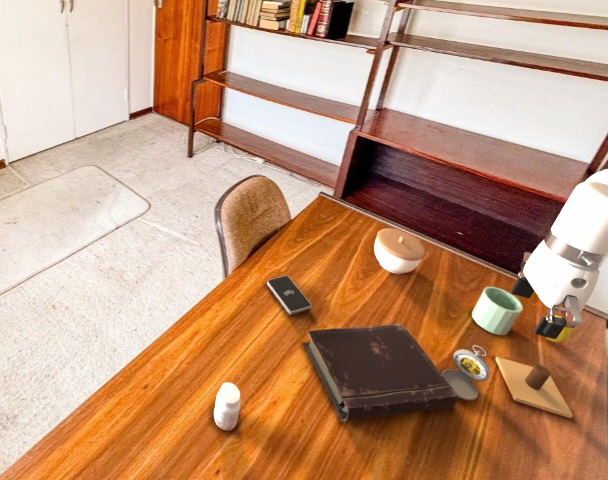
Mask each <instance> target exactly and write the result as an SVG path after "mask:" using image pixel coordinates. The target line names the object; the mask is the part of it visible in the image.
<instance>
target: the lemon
mask: <svg viewBox="0 0 608 480" xmlns="http://www.w3.org/2000/svg"><path fill="white" fill-rule="evenodd" d="M544 317H547V315H546V316H544ZM555 317H560V318H561V315H558V314H555ZM572 334H573V328H570V327H568V328H567V327H564V329H563V330H562V331H561V333H560V334H559V336H558V337H557V338H556V339H551V338H548V337H544V338H545V340H546V341H549V342H552V343H555V344H562V343H563V344H564V343H565V342H567V341H568V340H569V339H570V338H571V337H572Z"/></svg>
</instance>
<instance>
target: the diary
mask: <svg viewBox="0 0 608 480" xmlns="http://www.w3.org/2000/svg"><path fill="white" fill-rule="evenodd" d="M306 333H307V335H308V337H309V339H310V342H303V343H302V344H303V346H304V348H305V350H306V352H307V354H308V357H309V358H310V360H311V362H312V364H313V366H314V368H315V370H316V372H317V374H318V376H319V378H320V380H321V382H322V384H323V386H324V388H325V390H326V392H327V394H328V396H329V398H330V399H331V402H332V404H333V406H334V408H335V410H336V411H337V415H338V416H339V417H340V420H341V421H342V422H350V421H358V420H363V419H370V418H378V417H386V416H387V417H388V416H389V417H390V416H398V415H406V414H411V413H417V412H424V411H425V412H426V411H434V410H445V409H452V408H454V407H455V406H456V404H457V403H458V400H459V397H458V394H457V393H456V392H455V391H454V389H453V388H452V387H451V386H450V385H449V383H448V382H447V380H446V379H445V378H444V377H443V375H442V372H441V371H440V369H438V368H437V366H436V364H435V363H434V362H433V360H432V359H431V357H430V356H429V355H428V354H427V353H426V351H425V350H424V349H423V348H422V346H421V345H420V344H419V342H418V341H417V340H416V339H415V337H413V335H412V334H411V333H410V331H409V330H408V329H407V328H406V327H405V326H404V324H403V323H390V324H389V323H388V324H379V325H368V326H357V327H339V328H337V327H336V328H335V327H334V328H325V329H315V330H306Z"/></svg>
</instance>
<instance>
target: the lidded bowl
mask: <svg viewBox="0 0 608 480" xmlns="http://www.w3.org/2000/svg"><path fill="white" fill-rule="evenodd" d="M373 250H374V255H375V258H376V260H377V261H378V263H379V265H380V266H381V267H382V268H383V269H384V270H386V271H387V272H389V273H392V274H396V275H401V274H406V273H410V272H412V271H414V270H415V269H416V268H418V266H419V265H420V263H421V262H422V260H423V258H424V257H425V255H426V248H425V246H424V244H423V243H422V242H421V241H420V240H419V239H418V238H417V237H415V236H414V235H412V234H411V233H409V232H406V231H403V230H401V229H397V228H391V227H388V228H387V227H386V228H382V229H379V231H378V232H377V235H376V237H375V241H374V248H373Z"/></svg>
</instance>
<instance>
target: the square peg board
mask: <svg viewBox="0 0 608 480" xmlns="http://www.w3.org/2000/svg"><path fill="white" fill-rule="evenodd" d="M495 362H496V364H497V366H498V368H499V371H500V374H501V375H502V377H503V380H504V381H505V384H506V387H507V388H508V390H509V392H510V395H511V397H512V399H513V401H514V402H517V403H521V404H525V405H527V406H529V407H530V406H531V407H533V408H536V409H540V410H543V411H546V412H549V413H552V414H556V415H559V416H563V417H566V418H569V419H572V418H573V417H574V415H573V413H572V411H571V410H570V407H569V406H568V404H567V402H566V401H565V399H564V397H563V395H562V393H561V392H560V390H559V389H558V387H557V384H556V383H555V381H554V379H553V378H552V376H551V371H550V370H549V369H548V368H547V367H546V366H544V365H541V364H535V365H534V366H532V365H531V366H530V365H528V364H524V363H520V362H518V361H514V360H510V359H506V358H504V357H500V356H496V357H495Z"/></svg>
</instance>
